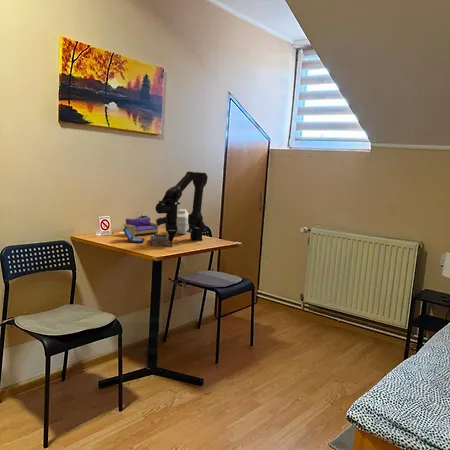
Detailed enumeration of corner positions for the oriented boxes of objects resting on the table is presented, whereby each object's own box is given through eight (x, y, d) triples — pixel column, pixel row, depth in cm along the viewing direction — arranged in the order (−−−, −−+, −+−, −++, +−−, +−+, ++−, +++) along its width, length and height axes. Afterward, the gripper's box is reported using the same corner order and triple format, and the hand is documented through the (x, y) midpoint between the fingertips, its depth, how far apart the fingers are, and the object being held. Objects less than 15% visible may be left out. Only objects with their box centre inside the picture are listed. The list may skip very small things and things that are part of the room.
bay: (171, 240, 262) (171, 236, 262) (172, 246, 244) (172, 242, 244) (150, 239, 260) (150, 235, 260) (149, 245, 243) (149, 241, 242)
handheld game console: (142, 244, 247) (143, 230, 246) (122, 243, 246) (122, 229, 245) (144, 240, 260) (145, 227, 259) (125, 239, 259) (126, 226, 258)
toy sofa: (133, 237, 265) (133, 220, 264) (123, 235, 270) (123, 218, 269) (158, 234, 282) (159, 218, 281) (148, 232, 287) (149, 216, 286)
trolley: (166, 241, 259) (167, 233, 258) (167, 245, 247) (167, 236, 246) (152, 241, 257) (153, 232, 257) (152, 245, 246) (152, 236, 245)
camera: (190, 232, 299) (192, 207, 297) (187, 236, 281) (188, 210, 279) (174, 230, 299) (175, 206, 297) (169, 235, 281) (170, 209, 279)
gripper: (157, 210, 259) (155, 237, 261) (157, 214, 240) (155, 243, 242) (176, 211, 260) (175, 238, 262) (178, 215, 242) (176, 244, 244)
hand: (170, 240), depth 253 cm, fingers open, 9 cm apart
